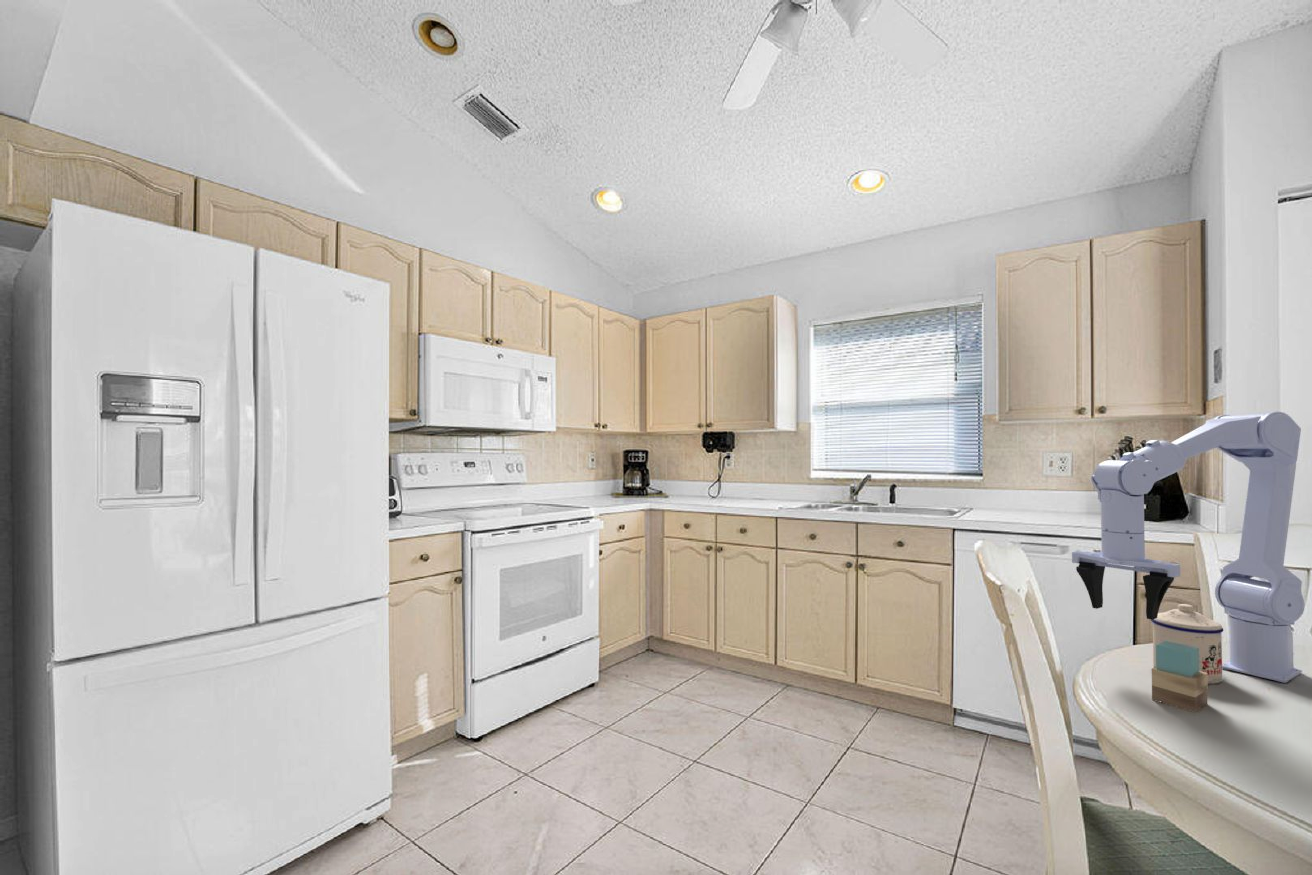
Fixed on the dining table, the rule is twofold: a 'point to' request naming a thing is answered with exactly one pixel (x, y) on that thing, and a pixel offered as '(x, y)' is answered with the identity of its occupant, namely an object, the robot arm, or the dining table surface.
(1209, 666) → the ceramic jar
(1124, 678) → the dining table surface
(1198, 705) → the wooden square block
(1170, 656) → the teal block
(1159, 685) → the oak slab upper
